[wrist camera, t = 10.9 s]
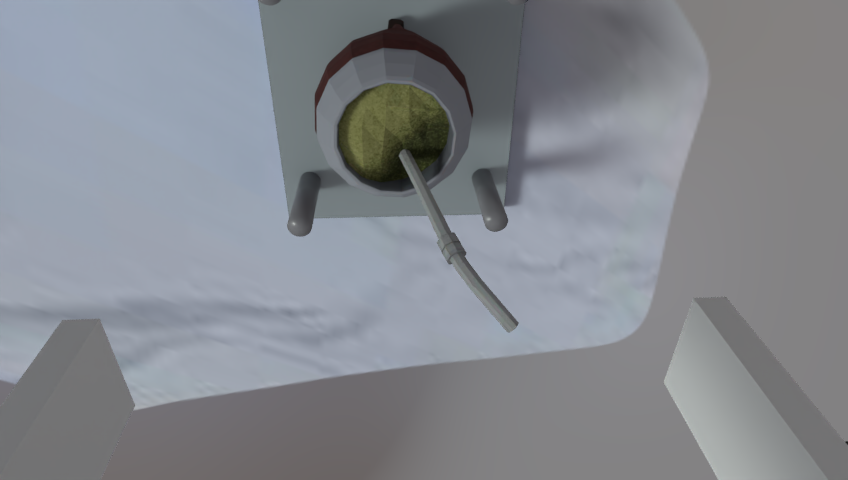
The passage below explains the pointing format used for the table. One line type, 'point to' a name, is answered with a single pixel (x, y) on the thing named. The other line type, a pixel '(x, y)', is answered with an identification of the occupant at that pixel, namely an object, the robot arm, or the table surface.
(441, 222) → the mate gourd
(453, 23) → the tray
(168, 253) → the table surface
